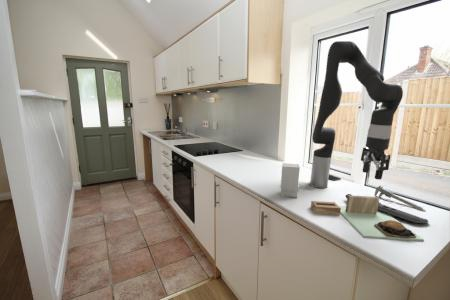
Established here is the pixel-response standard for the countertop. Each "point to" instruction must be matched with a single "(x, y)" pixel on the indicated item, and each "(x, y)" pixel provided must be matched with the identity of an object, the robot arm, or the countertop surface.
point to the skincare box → (289, 180)
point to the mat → (372, 224)
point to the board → (362, 204)
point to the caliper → (395, 197)
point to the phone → (333, 178)
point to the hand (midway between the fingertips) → (371, 175)
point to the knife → (399, 213)
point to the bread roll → (394, 229)
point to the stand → (325, 207)
